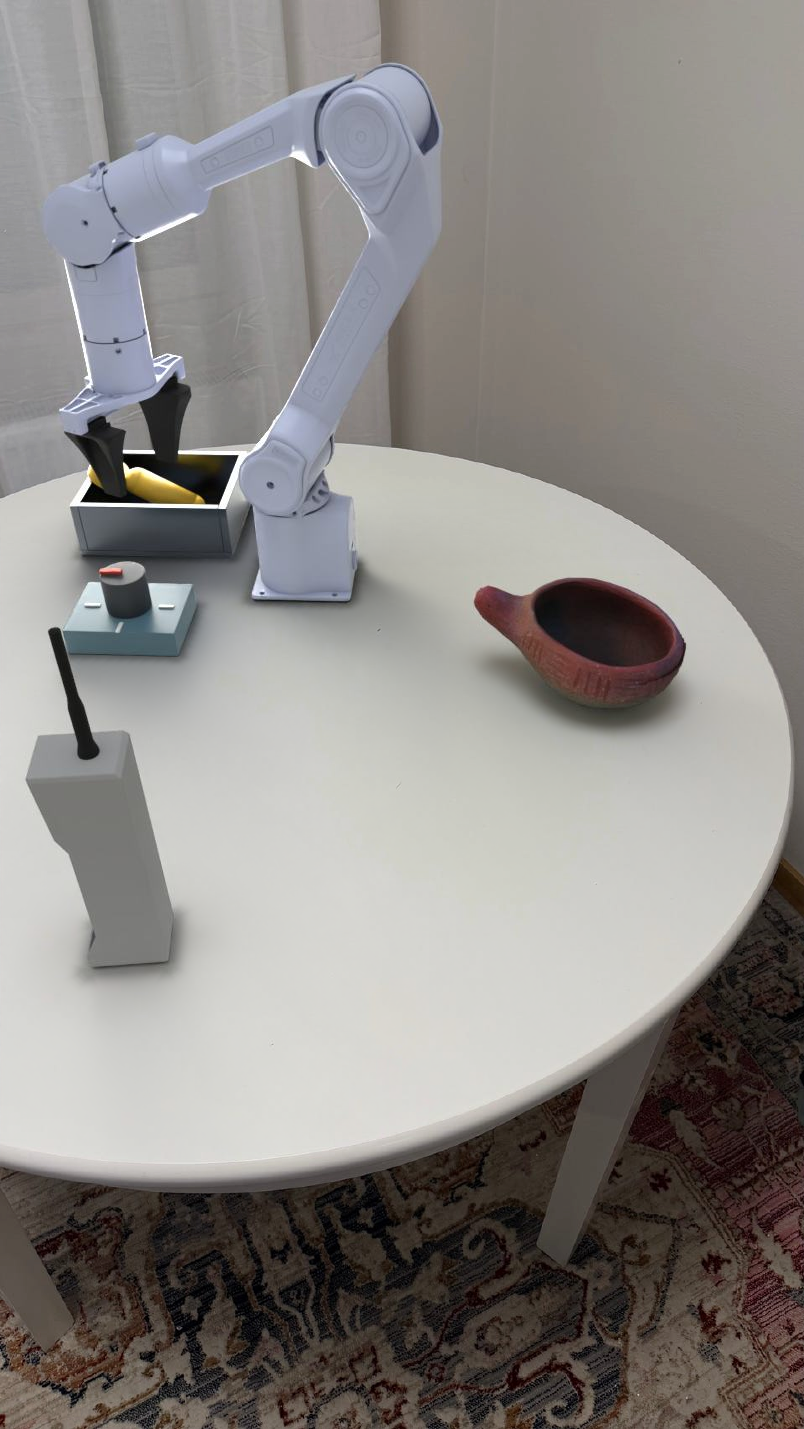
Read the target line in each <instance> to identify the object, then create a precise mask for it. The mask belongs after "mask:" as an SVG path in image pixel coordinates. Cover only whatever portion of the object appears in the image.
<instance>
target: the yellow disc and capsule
mask: <svg viewBox="0 0 804 1429" xmlns="http://www.w3.org/2000/svg"><path fill="white" fill-rule="evenodd" d="M123 465H124V472H125V478H126V485H127V489H128V491H129V492H131V493H132V494H134V495H136V496H139V497H141V498H143V499H145V500H147V501H149V502H151V503H153V504H185V505H205V502H204V500H203V499H202V498H201V497H200V496H198V495H197V494H194V493H192V492H190V491H188V490H186V489H184V488H182V487H180V486H178V485H176V484H174V483H172V482H170V481H167V480H165V479H163V478H161V477H159V476H157V475H155V474H153V473H151V472H149V471H147V470H145V469H142V468H133V469H131V470H129V468H128V467H127V465H126V464H124V463H123ZM88 477H89V479H90V480H91V481H92V482H93V483H94V484H96V485H97V486H99V487H101V488H103V487H102V485H101V483H100V481H99V480H98V478H97V476H96V474H95V472H94V470H93V469H92V467H91V465H90V464H89V466H88V469H87V478H88Z"/></svg>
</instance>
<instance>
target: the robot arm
mask: <svg viewBox="0 0 804 1429" xmlns="http://www.w3.org/2000/svg"><path fill="white" fill-rule="evenodd" d="M357 76H358V74H357V73H353V74H349V75H346V76H342V77H337V78H335V79H332V80H331V79H330V80H328V81H325V82H321V83H319V84H316V85H313V86H310V87H306V88H303V89H300V90H297V91H296V92H295V93H293V94H291V95H288V96H286V97H285V98H283V99H281V100H278V101H277V102H275V103H273V104H271V105H269V106H268V107H266V108H263V109H261V110H260V111H258V112H255V113H254V114H252V115H250V116H247V117H246V118H244V119H243V120H240V121H238V122H237V123H235V124H232V125H231V126H228V127H227V128H225V129H223V130H221V131H219V132H218V133H216V134H213V135H212V136H209V137H208V138H206V139H204V140H202V141H200V142H198V143H196V144H194V143H191V142H189V141H187V140H185V139H182V138H181V137H178V136H176V135H173V134H166V135H164V136H163V137H160V138H159V137H158V135H157V133H156V132H155V131H153V132H151V133H149V134H147V135H145V136H143V137H140V138H138V139H136V140H135V141H134V145H135V147H136V148H137V149H136V150H134V151H132V152H129V153H128V154H126V155H124V156H122V157H120V158H118V159H115V160H114V161H112V162H109V163H108V164H107V162H106V161H105V160H104V159H101V160H98V161H97V162H94V163H92V164H90V165H89V166H88V168H87V170H88V172H89V173H88V174H85V175H82V176H81V177H79V178H77V179H75V180H72V181H71V182H69V183H64V184H59V185H58V186H57V187H56V189H55V190H54V191H53V192H52V193H50V194H49V195H48V196H47V197H46V199H45V200H44V203H43V205H42V208H41V215H40V218H41V220H40V221H41V226H42V230H43V233H44V236H45V238H46V241H47V242H48V243H49V246H50V247H51V248H52V249H53V250H54V251H55V253H56V254H57V255H59V256H60V257H61V258H62V259H63V261H64V266H65V271H66V275H67V280H68V285H69V289H70V294H71V299H72V304H73V308H74V312H75V317H76V321H77V327H78V330H79V335H80V341H81V344H82V349H83V355H84V359H85V363H86V368H87V373H88V375H86V376H85V377H84V384H85V387H83V389H82V390H81V391H80V392H79V393H78V395H76V396H75V398H73V399H72V401H71V402H69V403H68V404H67V405H65V406H64V407H61V408H60V409H59V410H58V412H59V416H60V421H61V425H62V430H63V433H64V435H65V436H66V437H67V438H68V439H69V440H70V441H71V442H72V443H73V444H74V446H75V447H77V449H78V450H79V451H80V453H81V454H82V455H83V456H84V458H85V459H86V461H87V462H88V464H89V466H90V465H91V467H92V469H93V470H94V472H95V474H96V476H97V478H98V480H99V481H100V483H101V485H102V487H103V489H104V491H105V493H106V494H110V495H113V496H117V497H123V496H125V495H126V490H127V485H126V478H125V472H124V465H123V450H124V446H125V438H126V433H127V431H126V430H125V429H123V428H118V427H114V426H112V424H111V422H110V421H107V417H108V416H110V415H112V414H113V413H116V412H118V411H119V410H121V409H123V408H125V407H126V406H130V405H132V404H137V403H138V404H139V406H140V408H141V412H142V413H143V415H144V416H143V417H144V418H145V421H146V425H147V428H148V434H149V437H150V442H151V446H152V451H154V453H155V455H156V458H157V460H161V461H165V462H168V463H172V464H174V463H176V462H177V461H178V452H179V451H180V441H181V432H182V426H183V422H184V418H185V414H186V410H187V407H188V405H189V403H190V401H191V399H192V389H191V386H190V385H188V384H186V383H181V382H179V381H181V380H183V379H184V378H186V376H187V375H186V368H185V363H184V357H183V356H179V355H174V354H170V353H165V354H163V355H161V356H158V357H156V358H153V352H152V351H153V350H152V344H151V340H150V334H149V328H148V323H147V317H146V312H145V306H144V300H143V294H142V288H141V283H140V281H141V280H140V277H139V271H138V270H139V269H138V265H137V254H136V248H135V247H136V242H141V241H143V240H145V239H148V238H150V237H153V236H155V235H157V234H159V233H162V232H164V231H166V230H168V229H170V228H171V229H172V228H173V227H175V226H177V225H181V224H182V223H184V222H186V221H189V220H191V219H193V218H196V217H198V216H201V215H203V213H205V211H206V209H207V207H208V205H209V202H210V197H211V194H212V190H213V188H216V187H218V186H220V185H223V184H225V183H228V182H231V181H233V180H235V179H238V178H240V177H242V176H245V175H247V174H250V173H252V172H255V171H258V170H260V169H262V168H265V167H267V166H270V165H272V164H276V163H277V162H280V161H283V160H285V159H287V158H290V157H292V158H295V159H296V160H298V161H300V162H302V163H304V164H306V165H308V166H309V167H310V168H313V169H319V168H321V167H323V165H325V164H326V163H327V164H328V167H329V168H330V169H331V170H332V172H333V173H334V175H335V176H336V178H337V179H338V181H339V182H340V183H341V185H343V187H344V189H345V190H346V191H347V192H348V194H349V195H350V197H351V198H352V200H354V202H355V203H356V204H357V206H358V209H359V211H360V214H361V216H362V218H363V221H364V224H365V226H366V230H367V232H368V238H367V241H366V243H365V245H364V247H363V249H362V252H361V254H360V256H359V257H358V260H357V261H356V263H355V265H354V267H353V270H352V271H351V273H350V274H349V277H348V279H347V281H346V284H345V286H344V287H343V289H342V292H341V293H340V295H339V297H338V299H337V301H336V303H335V306H334V308H333V310H332V311H331V313H330V316H329V318H328V320H327V322H326V324H325V325H324V328H323V330H322V332H321V334H320V336H319V338H318V340H317V341H316V344H315V346H314V348H313V349H312V352H311V353H310V356H309V358H308V360H307V362H306V364H305V365H304V367H303V369H302V372H301V374H300V376H299V378H298V380H297V382H296V383H295V386H294V388H293V390H292V392H291V394H290V396H289V398H288V400H287V402H286V403H285V405H284V407H283V408H282V410H281V412H280V413H279V415H277V416H276V417H275V419H274V420H273V421H272V424H271V425H270V427H269V429H268V431H267V432H266V433H265V434H264V435H263V437H262V438H261V439H260V441H259V442H258V443H257V444H256V446H254V448H253V449H252V450H251V452H248V455H246V456H245V458H244V459H243V460H242V462H241V464H240V466H239V470H238V483H239V486H240V489H241V491H242V493H243V495H244V496H245V498H246V499H247V500H248V502H249V503H250V504H251V506H252V512H253V520H254V529H255V537H256V545H257V546H256V547H257V555H258V556H257V557H258V563H259V567H258V571H257V574H256V578H255V580H254V583H253V587H252V590H251V598H252V599H254V600H267V601H269V600H271V601H274V600H275V601H276V600H277V601H319V602H322V601H323V602H348V601H350V600H351V598H352V592H353V586H354V580H355V574H356V571H357V569H358V564H359V562H358V558H359V557H358V551H357V545H356V544H357V542H356V540H357V539H356V521H355V520H356V518H355V504H354V497H353V496H351V495H346V494H345V495H344V494H341V493H336V492H335V491H334V492H333V491H331V490H330V486H329V482H328V479H327V477H326V473H325V472H326V471H325V468H326V467H327V466H328V465H329V464H330V463H331V461H332V459H333V457H334V454H335V448H336V447H335V436H336V431H337V429H338V427H339V424H340V423H341V421H342V419H343V415H344V413H345V411H346V409H347V407H348V405H349V404H350V401H351V400H352V398H353V396H354V394H355V392H356V390H357V389H358V387H359V385H360V383H361V382H362V380H363V378H364V375H365V374H366V372H367V371H368V369H369V367H370V365H371V363H372V361H373V360H374V358H375V356H376V354H377V352H378V350H379V349H380V347H381V346H382V343H383V341H384V340H385V338H386V336H387V334H388V332H389V331H390V329H391V327H392V325H393V323H394V321H395V320H396V318H397V316H398V314H399V313H400V310H401V308H402V307H403V305H404V303H405V301H406V299H407V298H408V296H409V294H410V292H411V290H412V289H413V287H414V285H415V283H416V281H417V280H418V278H419V276H420V274H421V272H422V270H423V268H424V267H425V265H426V263H427V261H428V260H429V258H430V256H431V255H432V252H433V251H434V248H435V247H436V245H437V243H438V241H439V239H440V236H441V232H442V228H443V212H442V211H443V210H442V209H443V208H442V164H441V163H442V161H441V159H442V157H441V156H442V147H443V138H444V126H443V124H442V121H441V118H440V115H439V113H438V110H437V107H436V104H435V101H434V98H433V96H432V93H431V91H430V88H429V86H428V85H427V83H426V81H425V80H424V79H423V77H422V76H421V75H420V74H419V73H417V72H416V71H415V70H414V69H413V68H411V67H409V66H407V65H405V64H402V63H397V62H387V63H386V62H385V63H381V64H378V65H376V66H374V67H373V68H371V69H370V70H368V71H367V72H366V73H364V75H363V76H362V77H361V78H359V79H357V80H356V81H354V80H355V78H357Z"/></svg>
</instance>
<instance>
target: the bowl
mask: <svg viewBox="0 0 804 1429" xmlns="http://www.w3.org/2000/svg"><path fill="white" fill-rule="evenodd" d="M473 605H474V608H475V609H476V610H477V612H478V613H479V615H480V617H481V618H482V619H483V620H484V621H485V622H487V623H488V624H489V625H490V626H492V628H494V629H495V630H497V631H498V632H499V633H500V634H501V635H502V636H503V637H504V638H506V639H507V640H508V641H510V642H511V643H512V644H513V646H515V648H516V649H517V650H518V651H519V652H520V653H521V655H522V656H523V657H524V658H525V659H526V660H527V662H528V663H529V664H530V666H531V667H532V668H533V669H534V670H535V672H536V673H537V674H538V675H539V676H540V678H541V679H542V680H543V681H544V682H545V683H546V684H547V685H548V686H549V687H550V688H551V689H552V690H553V691H555V692H556V693H557V694H559V695H560V696H562V697H563V698H565V699H567V700H570V701H571V702H575V703H576V704H579V705H582V706H585V707H590V708H598V709H621V708H629V707H635V706H639V705H642V704H644V703H647V702H649V701H651V700H653V699H654V698H656V697H658V696H659V695H660V694H661V693H663V692H664V691H665V690H666V689H667V688H668V687H669V686H670V684H671V683H672V681H673V680H674V679H675V677H676V676H677V675H678V673H679V672H680V669H681V667H682V665H683V664H684V659H685V655H686V651H687V643H686V641H685V638H684V637H683V634H682V633H681V631H680V630H679V629H678V627H677V624H676V623H675V622H674V620H673V619H672V618H671V617H670V616H669V615H668V614H667V612H665V611H664V609H662V608H661V607H660V606H659V605H658V604H656V603H655V602H653V601H652V600H649V599H648V598H646V597H644V596H643V595H641V594H639V593H637V592H636V591H633V590H631V589H629V588H628V587H624V586H621V585H618V584H615V583H612V582H610V581H605V580H602V579H597V578H595V577H593V578H592V577H563V578H559V579H555V580H552V581H550V582H547V583H545V584H543V585H541V586H539V587H537V588H536V589H535V590H533V591H532V592H531V593H528V594H525V595H518V594H513V593H510V592H507V591H505V590H503V589H501V588H499V587H496V586H492V585H486V586H483V587H480V588H479V589H478V590H477V591H476V592H475V596H474V599H473Z"/></svg>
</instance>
